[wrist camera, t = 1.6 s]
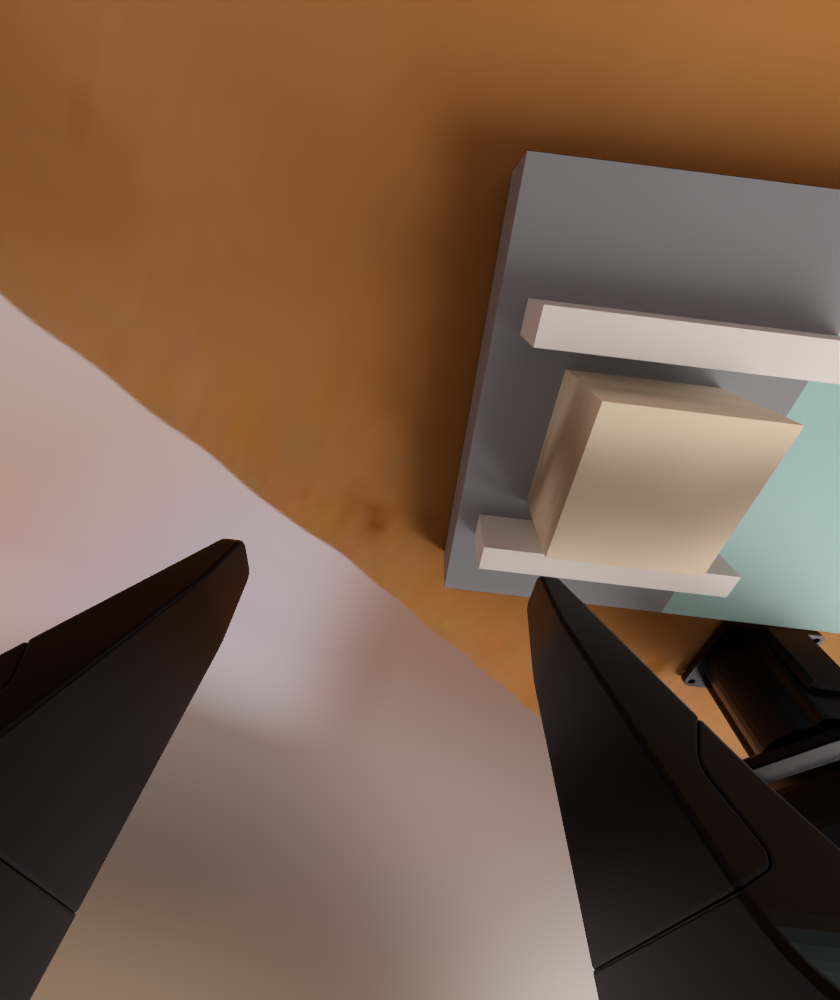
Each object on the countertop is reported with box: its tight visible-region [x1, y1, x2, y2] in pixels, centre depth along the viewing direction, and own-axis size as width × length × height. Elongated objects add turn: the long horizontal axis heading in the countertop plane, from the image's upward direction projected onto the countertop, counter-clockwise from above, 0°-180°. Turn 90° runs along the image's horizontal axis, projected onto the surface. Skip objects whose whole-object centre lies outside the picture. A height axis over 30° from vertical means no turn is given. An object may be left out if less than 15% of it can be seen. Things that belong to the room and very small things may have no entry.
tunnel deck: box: [444, 151, 840, 633], centre depth 16 cm, size 18×32×6 cm, turn 84°
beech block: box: [526, 369, 805, 576], centre depth 14 cm, size 6×6×4 cm
